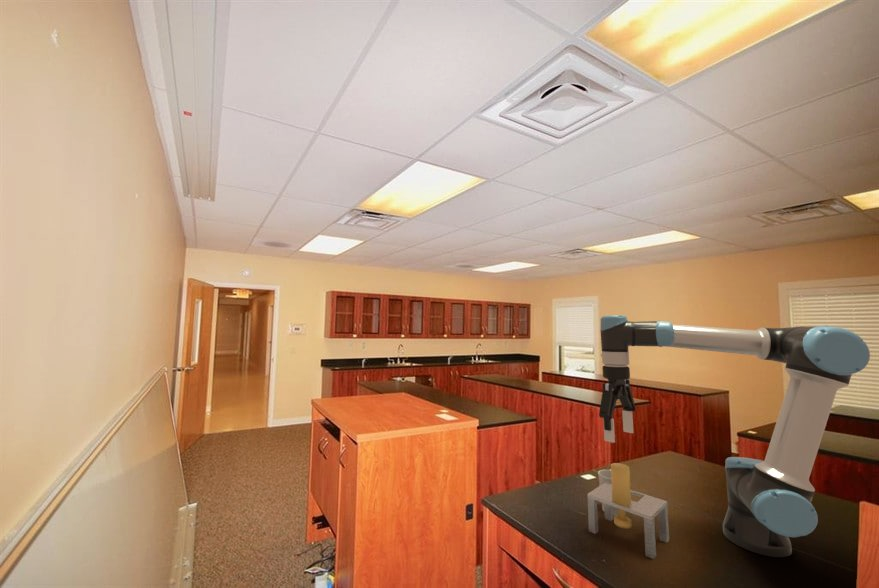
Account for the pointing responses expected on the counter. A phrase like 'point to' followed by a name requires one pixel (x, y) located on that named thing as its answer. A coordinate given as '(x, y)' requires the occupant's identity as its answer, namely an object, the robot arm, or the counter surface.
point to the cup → (606, 477)
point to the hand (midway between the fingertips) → (619, 436)
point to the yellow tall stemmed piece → (621, 492)
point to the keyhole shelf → (644, 508)
